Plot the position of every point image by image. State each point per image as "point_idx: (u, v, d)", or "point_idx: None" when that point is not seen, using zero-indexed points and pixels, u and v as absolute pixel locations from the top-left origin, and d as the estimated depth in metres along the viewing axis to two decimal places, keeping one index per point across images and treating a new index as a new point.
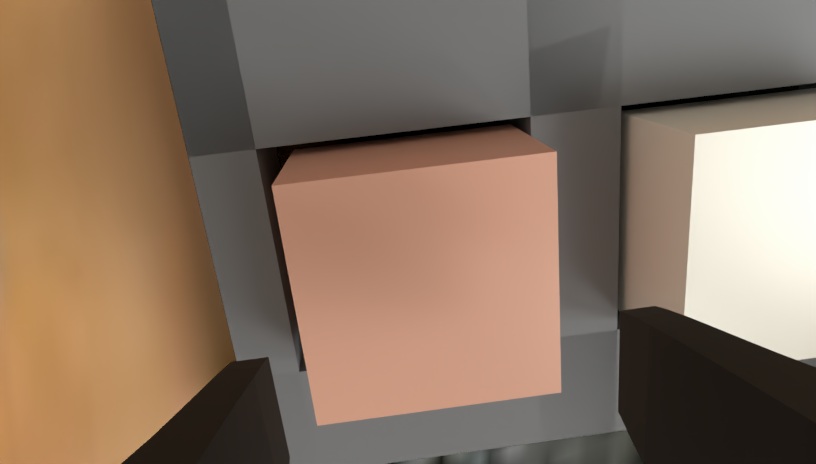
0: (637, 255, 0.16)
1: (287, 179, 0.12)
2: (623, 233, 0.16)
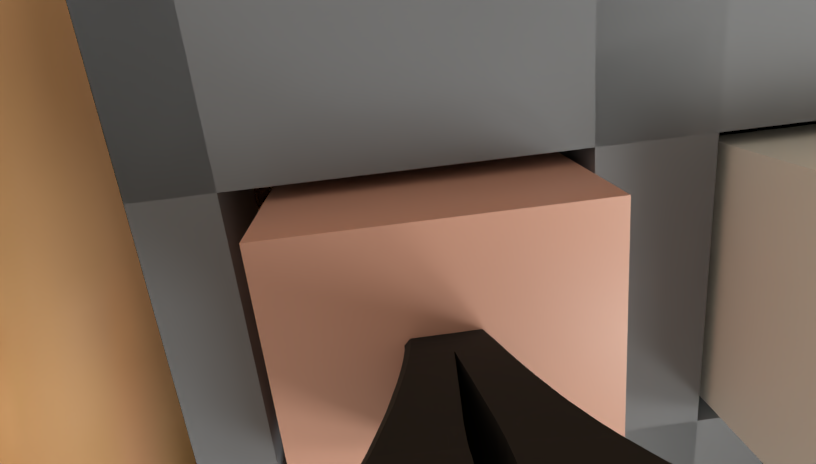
0: (734, 331, 0.12)
1: (262, 231, 0.09)
2: (709, 297, 0.12)
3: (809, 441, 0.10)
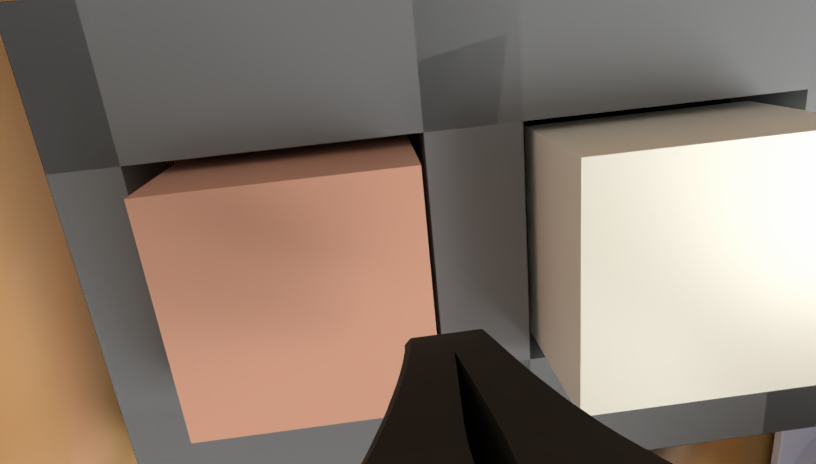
0: (545, 282, 0.14)
1: (146, 191, 0.12)
2: (534, 257, 0.15)
3: (576, 360, 0.13)
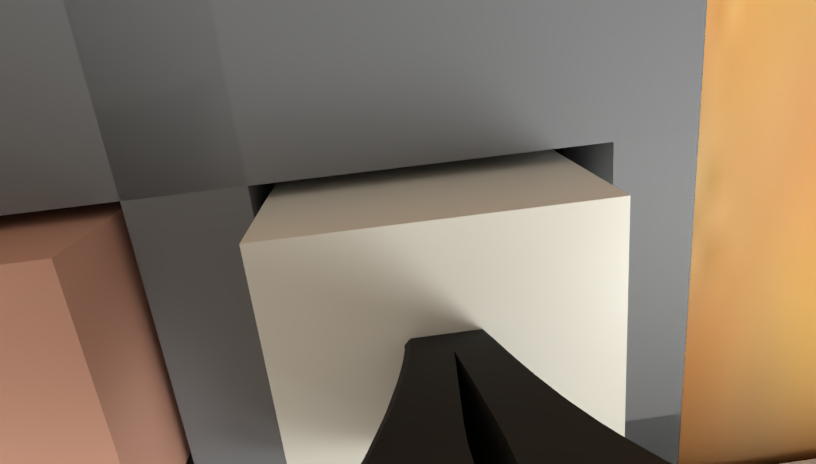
0: None
1: None
2: None
3: None
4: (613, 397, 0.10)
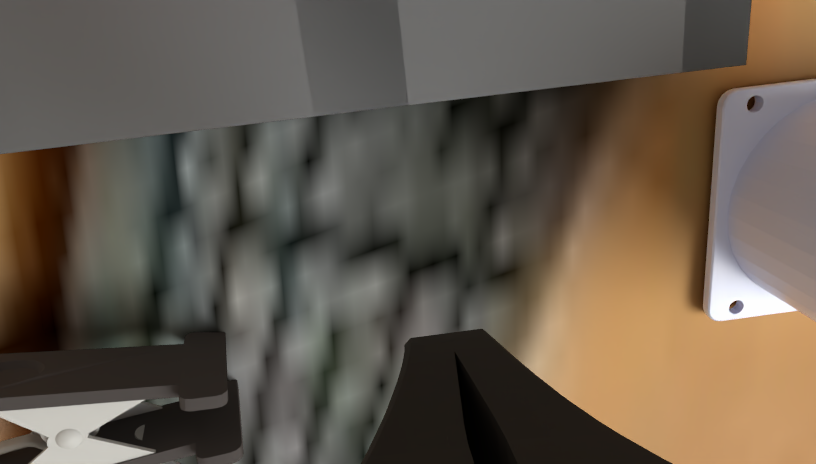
0: None
1: None
2: None
3: None
4: None
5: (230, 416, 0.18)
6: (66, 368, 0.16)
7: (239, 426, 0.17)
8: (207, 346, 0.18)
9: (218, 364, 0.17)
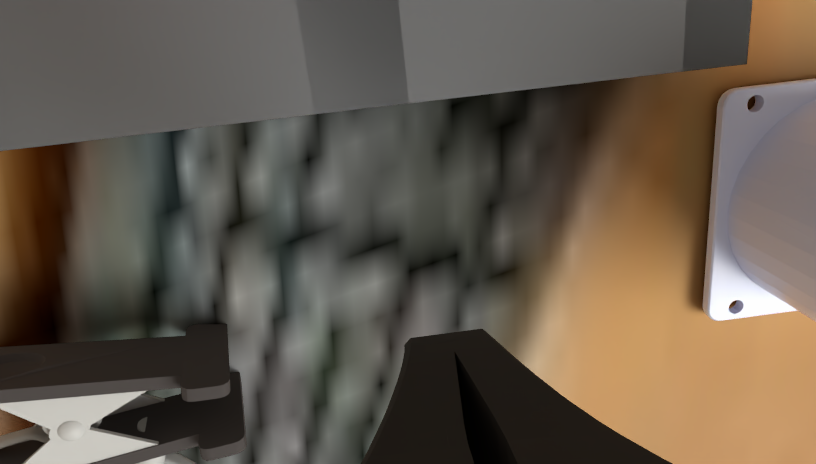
0: None
1: None
2: None
3: None
4: None
5: (233, 407, 0.18)
6: (67, 360, 0.16)
7: (242, 417, 0.17)
8: (209, 338, 0.18)
9: (220, 355, 0.17)
